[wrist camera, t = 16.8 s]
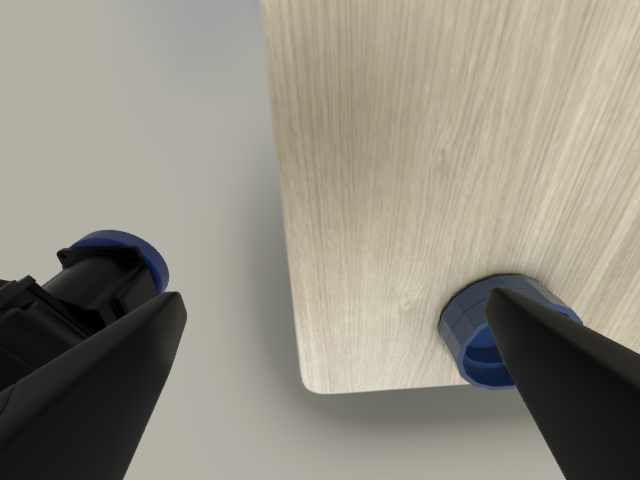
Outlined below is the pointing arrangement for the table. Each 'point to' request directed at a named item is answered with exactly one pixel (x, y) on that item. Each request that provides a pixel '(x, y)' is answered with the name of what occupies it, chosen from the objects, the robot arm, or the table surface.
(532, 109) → the table surface
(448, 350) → the blue bowl
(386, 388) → the table surface
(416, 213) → the table surface
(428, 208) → the table surface
